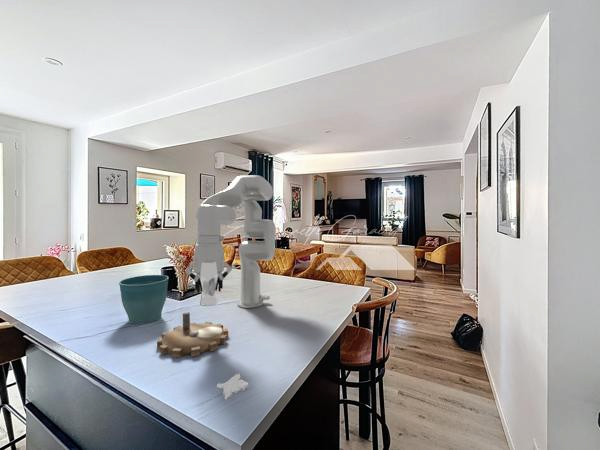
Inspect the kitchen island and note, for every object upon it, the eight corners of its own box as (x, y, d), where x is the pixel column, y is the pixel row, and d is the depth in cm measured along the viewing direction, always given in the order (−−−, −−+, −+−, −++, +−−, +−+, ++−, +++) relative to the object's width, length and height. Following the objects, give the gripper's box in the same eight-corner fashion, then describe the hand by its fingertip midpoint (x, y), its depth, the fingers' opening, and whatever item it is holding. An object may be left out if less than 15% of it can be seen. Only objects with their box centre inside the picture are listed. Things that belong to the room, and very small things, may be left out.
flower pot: (133, 331, 102) (133, 287, 101) (110, 321, 112) (110, 280, 111) (177, 317, 117) (177, 278, 117) (154, 309, 127) (153, 273, 126)
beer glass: (223, 301, 98) (223, 260, 97) (211, 307, 91) (211, 263, 91) (207, 299, 100) (207, 259, 99) (194, 305, 93) (194, 261, 93)
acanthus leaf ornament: (238, 377, 75) (238, 370, 74) (252, 389, 69) (252, 382, 69) (212, 388, 69) (212, 381, 69) (225, 402, 64) (225, 394, 64)
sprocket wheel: (196, 323, 110) (196, 304, 109) (241, 334, 100) (241, 313, 99) (141, 347, 89) (141, 324, 89) (191, 364, 79) (191, 338, 79)
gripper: (233, 239, 101) (233, 287, 101) (183, 239, 96) (183, 290, 96) (235, 240, 94) (235, 292, 94) (180, 241, 89) (181, 296, 89)
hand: (209, 290), depth 95 cm, fingers closed on beer glass, 6 cm apart
